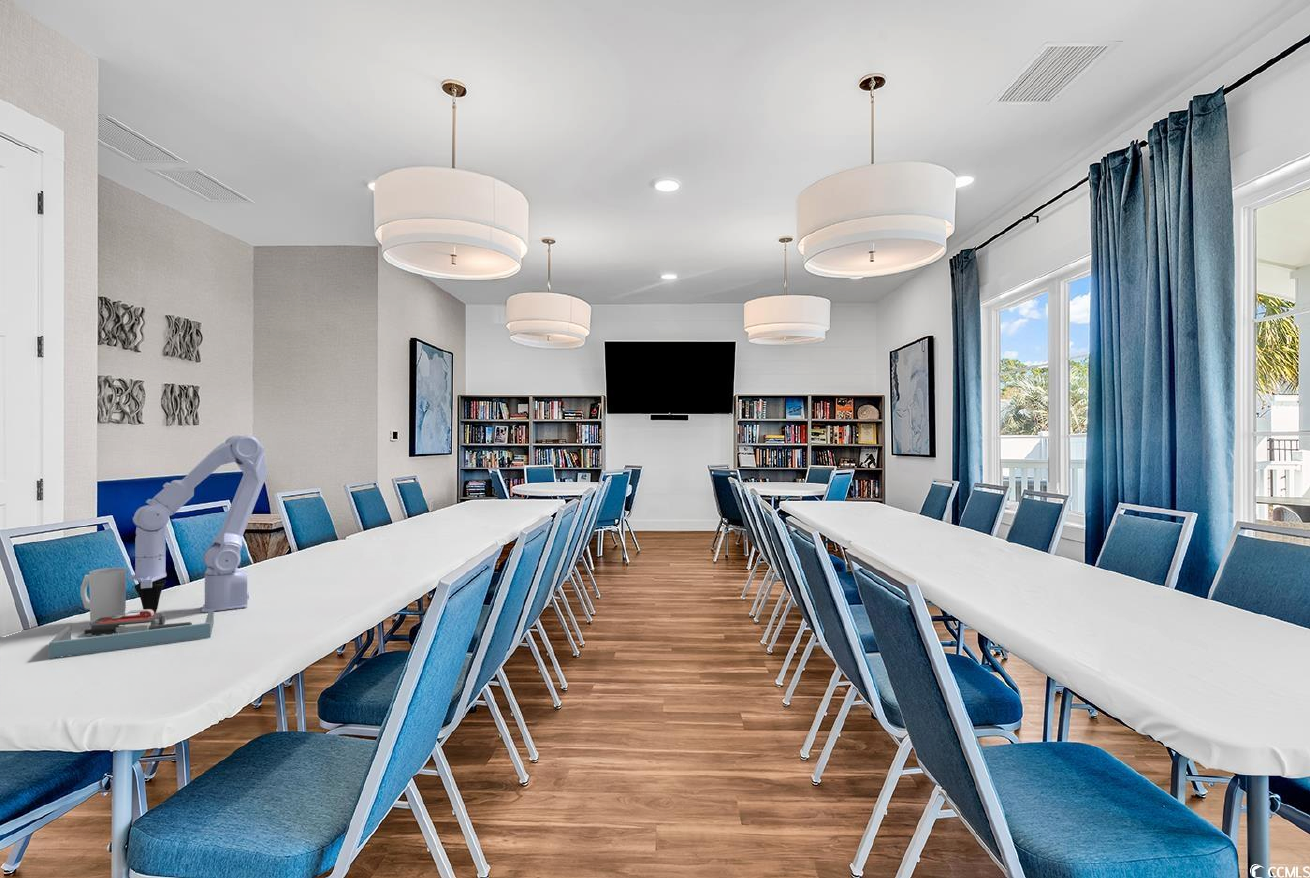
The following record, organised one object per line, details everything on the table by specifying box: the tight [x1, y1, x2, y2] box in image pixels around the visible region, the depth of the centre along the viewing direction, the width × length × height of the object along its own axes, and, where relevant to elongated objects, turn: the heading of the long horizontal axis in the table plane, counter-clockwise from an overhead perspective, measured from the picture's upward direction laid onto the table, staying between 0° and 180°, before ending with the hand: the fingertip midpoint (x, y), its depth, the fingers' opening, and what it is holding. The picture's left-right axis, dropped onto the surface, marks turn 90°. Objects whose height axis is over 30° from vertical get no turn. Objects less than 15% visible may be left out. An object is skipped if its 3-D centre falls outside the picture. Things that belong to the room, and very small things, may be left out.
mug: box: [80, 567, 127, 625], centre depth 153 cm, size 10×7×12 cm, turn 86°
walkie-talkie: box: [83, 608, 193, 636], centre depth 147 cm, size 9×4×20 cm
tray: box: [48, 611, 215, 659], centre depth 139 cm, size 26×12×3 cm, turn 122°
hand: (150, 613), depth 155 cm, fingers closed
